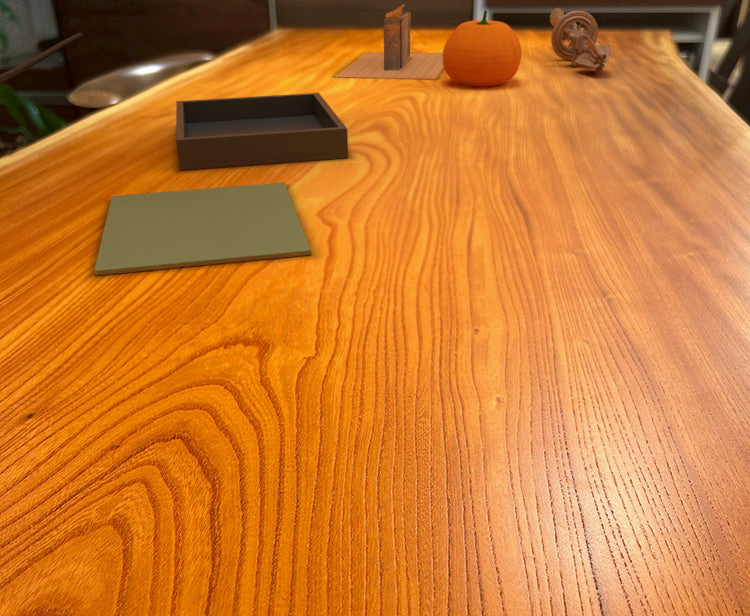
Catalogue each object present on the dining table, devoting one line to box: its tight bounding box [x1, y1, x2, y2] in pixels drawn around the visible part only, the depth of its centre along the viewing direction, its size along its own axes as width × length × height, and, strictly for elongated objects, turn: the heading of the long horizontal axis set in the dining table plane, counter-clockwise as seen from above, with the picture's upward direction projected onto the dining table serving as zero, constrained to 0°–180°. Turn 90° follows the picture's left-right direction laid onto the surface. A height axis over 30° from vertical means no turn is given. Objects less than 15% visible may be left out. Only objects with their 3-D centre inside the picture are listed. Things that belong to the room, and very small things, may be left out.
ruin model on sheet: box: [334, 3, 444, 80], centre depth 131 cm, size 25×16×10 cm, turn 169°
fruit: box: [442, 10, 522, 87], centre depth 115 cm, size 12×12×10 cm
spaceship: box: [549, 7, 611, 73], centre depth 132 cm, size 8×35×8 cm
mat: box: [93, 182, 313, 276], centre depth 65 cm, size 18×16×1 cm
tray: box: [175, 92, 349, 171], centre depth 89 cm, size 20×18×3 cm
